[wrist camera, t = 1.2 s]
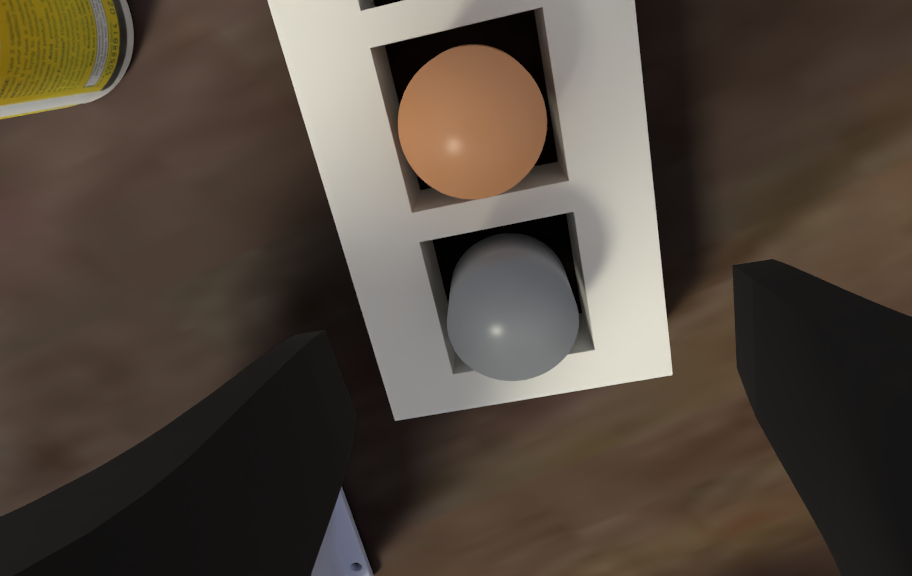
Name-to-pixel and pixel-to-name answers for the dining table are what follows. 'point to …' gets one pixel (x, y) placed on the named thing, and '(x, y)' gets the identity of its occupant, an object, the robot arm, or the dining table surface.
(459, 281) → the grey button
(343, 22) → the button panel
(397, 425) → the dining table surface
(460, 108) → the orange rounded dome
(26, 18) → the supplement bottle
